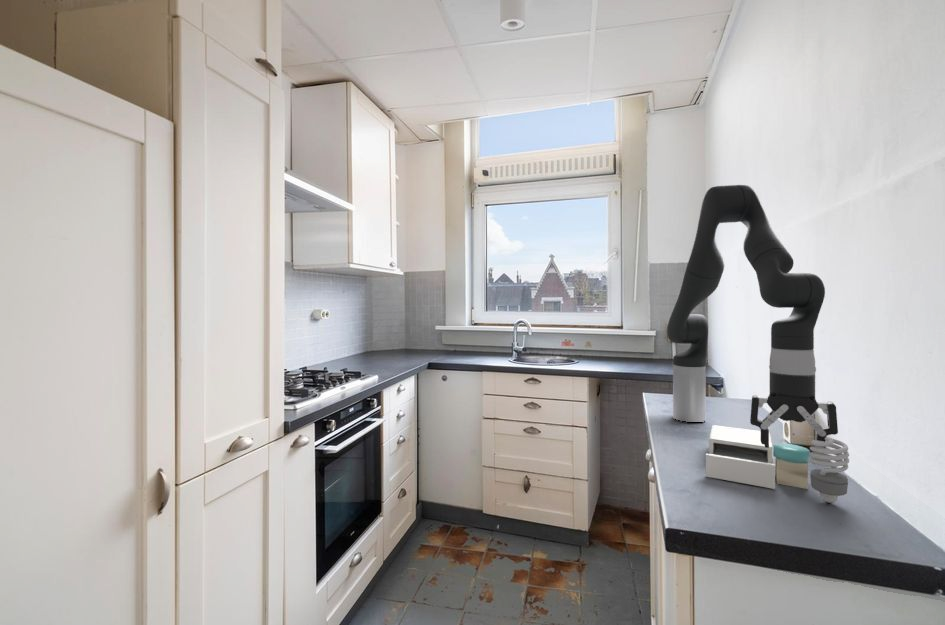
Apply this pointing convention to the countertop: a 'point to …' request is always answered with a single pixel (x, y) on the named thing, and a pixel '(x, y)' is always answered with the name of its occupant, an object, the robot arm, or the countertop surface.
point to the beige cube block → (791, 473)
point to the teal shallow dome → (791, 453)
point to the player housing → (739, 441)
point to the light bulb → (829, 469)
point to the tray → (740, 468)
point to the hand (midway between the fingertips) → (791, 450)
